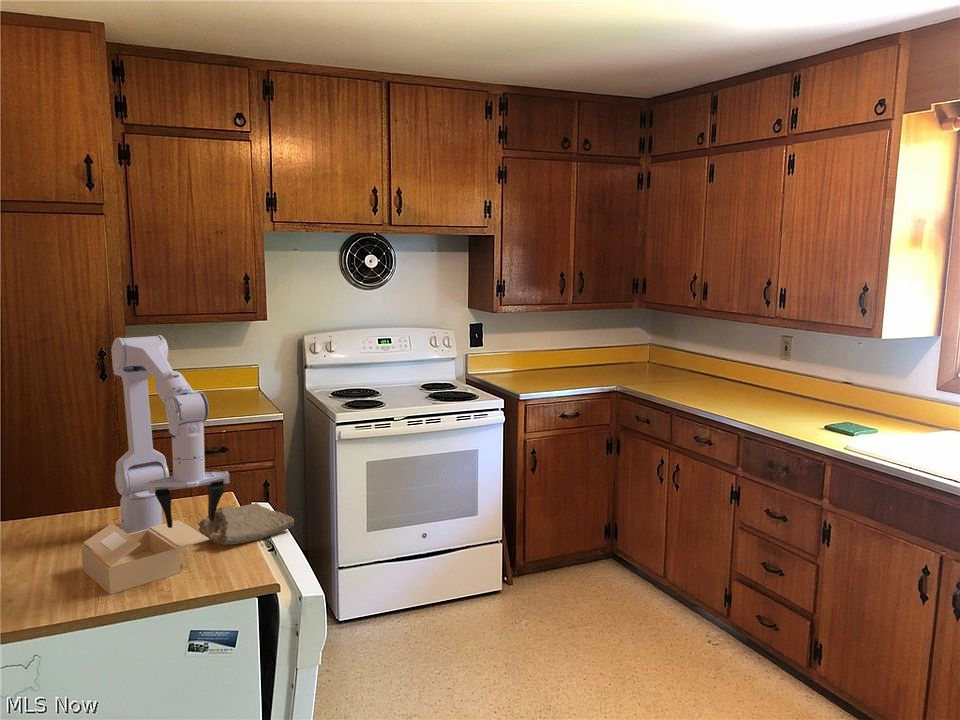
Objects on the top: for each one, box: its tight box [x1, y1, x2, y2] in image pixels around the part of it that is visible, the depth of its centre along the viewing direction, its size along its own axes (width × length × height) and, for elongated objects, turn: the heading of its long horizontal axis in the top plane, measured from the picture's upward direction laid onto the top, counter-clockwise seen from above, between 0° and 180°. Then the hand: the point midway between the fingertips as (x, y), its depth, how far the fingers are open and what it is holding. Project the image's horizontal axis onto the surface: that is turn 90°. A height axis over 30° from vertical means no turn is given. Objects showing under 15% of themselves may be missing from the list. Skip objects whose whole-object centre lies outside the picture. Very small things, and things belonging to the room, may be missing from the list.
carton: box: [80, 519, 210, 596], centre depth 145 cm, size 14×19×5 cm
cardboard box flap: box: [83, 522, 141, 566], centre depth 140 cm, size 14×6×1 cm, turn 47°
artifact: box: [196, 502, 295, 545], centre depth 163 cm, size 18×8×15 cm
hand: (190, 522), depth 143 cm, fingers open, 7 cm apart
